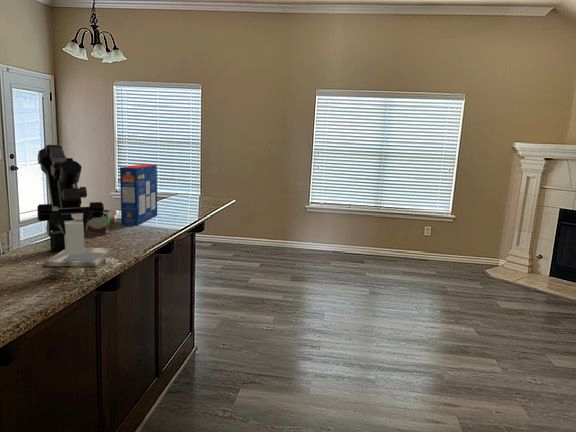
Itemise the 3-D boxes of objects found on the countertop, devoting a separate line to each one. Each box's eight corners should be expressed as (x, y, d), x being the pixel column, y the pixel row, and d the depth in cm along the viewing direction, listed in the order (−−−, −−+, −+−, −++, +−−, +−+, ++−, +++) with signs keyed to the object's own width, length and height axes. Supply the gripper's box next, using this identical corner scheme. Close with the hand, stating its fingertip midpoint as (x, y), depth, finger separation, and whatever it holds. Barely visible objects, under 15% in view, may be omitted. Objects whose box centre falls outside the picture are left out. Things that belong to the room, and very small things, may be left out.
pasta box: (143, 214, 232) (142, 164, 227) (157, 215, 232) (156, 164, 227) (121, 224, 204) (119, 167, 199) (137, 225, 204) (136, 168, 199)
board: (45, 265, 139) (45, 261, 138) (67, 251, 156) (67, 246, 156) (95, 266, 140) (95, 261, 140) (112, 252, 158) (112, 247, 158)
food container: (117, 232, 189) (117, 210, 187) (108, 235, 183) (107, 212, 181) (94, 229, 192) (94, 208, 190) (85, 232, 186) (84, 210, 184)
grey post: (65, 251, 134) (63, 220, 132) (82, 249, 137) (81, 219, 135) (67, 255, 130) (65, 224, 128) (84, 253, 133) (83, 223, 131)
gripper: (35, 178, 127) (39, 221, 120) (101, 177, 137) (109, 217, 130) (35, 199, 135) (40, 241, 128) (98, 197, 145) (105, 235, 138)
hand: (74, 233), depth 131 cm, fingers closed on grey post, 5 cm apart
